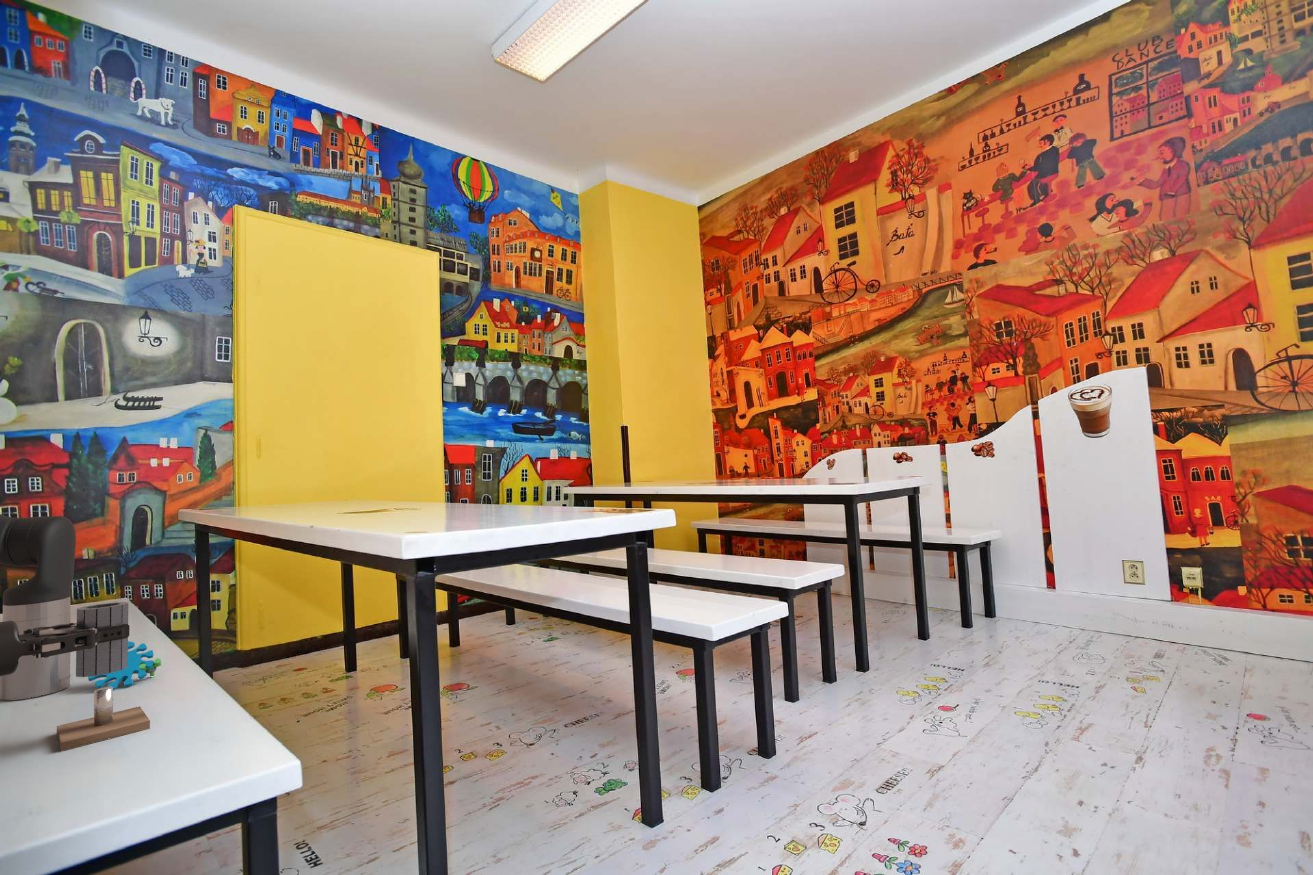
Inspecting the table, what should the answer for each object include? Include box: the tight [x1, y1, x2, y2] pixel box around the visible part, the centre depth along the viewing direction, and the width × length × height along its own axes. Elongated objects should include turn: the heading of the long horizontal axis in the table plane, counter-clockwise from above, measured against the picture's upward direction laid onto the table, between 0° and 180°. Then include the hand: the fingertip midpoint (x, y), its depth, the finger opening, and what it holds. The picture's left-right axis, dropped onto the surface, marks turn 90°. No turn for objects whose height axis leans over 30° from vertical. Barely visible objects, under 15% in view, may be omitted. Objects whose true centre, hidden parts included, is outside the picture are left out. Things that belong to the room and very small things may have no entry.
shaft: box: [93, 686, 114, 726], centre depth 97 cm, size 2×2×5 cm
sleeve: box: [75, 601, 129, 678], centre depth 97 cm, size 6×6×10 cm
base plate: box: [56, 706, 151, 752], centre depth 97 cm, size 10×10×1 cm
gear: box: [87, 640, 162, 691], centre depth 122 cm, size 11×6×10 cm
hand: (122, 628), depth 99 cm, fingers closed on sleeve, 6 cm apart
